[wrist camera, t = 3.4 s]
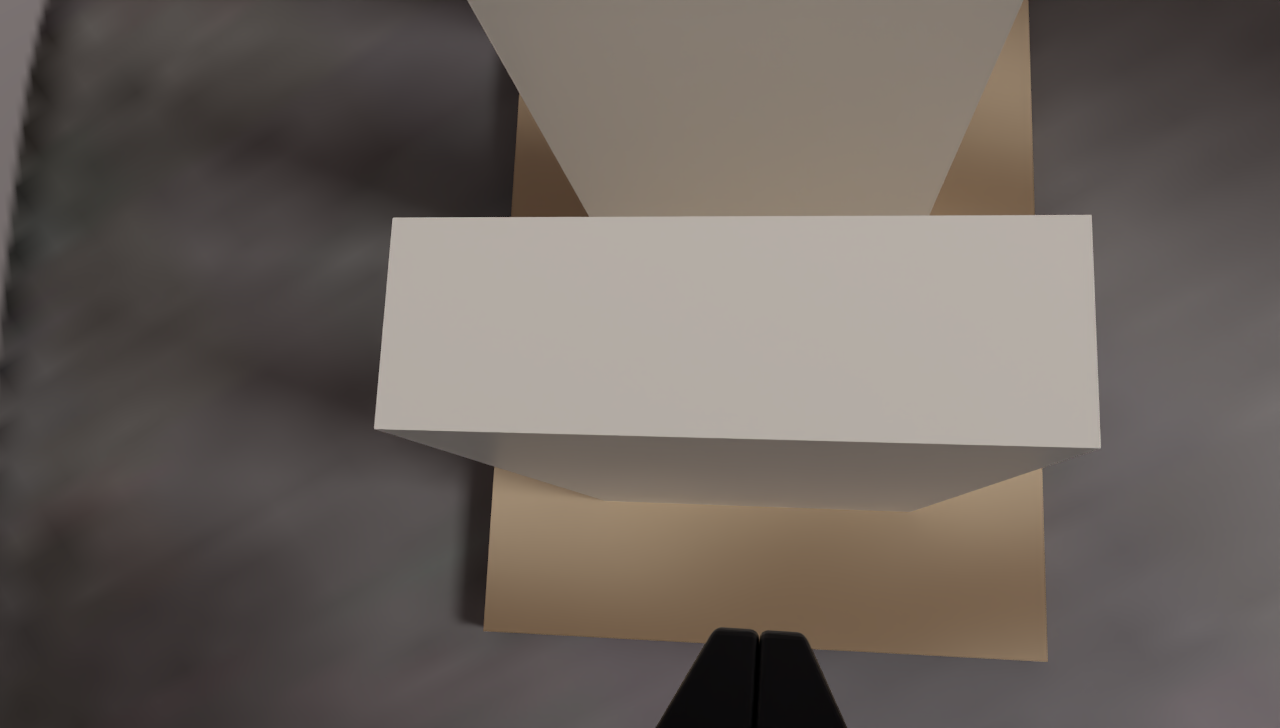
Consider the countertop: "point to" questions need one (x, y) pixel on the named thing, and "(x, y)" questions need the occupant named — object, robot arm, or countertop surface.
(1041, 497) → the oak strip
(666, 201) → the domino
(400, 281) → the domino
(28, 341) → the countertop surface
